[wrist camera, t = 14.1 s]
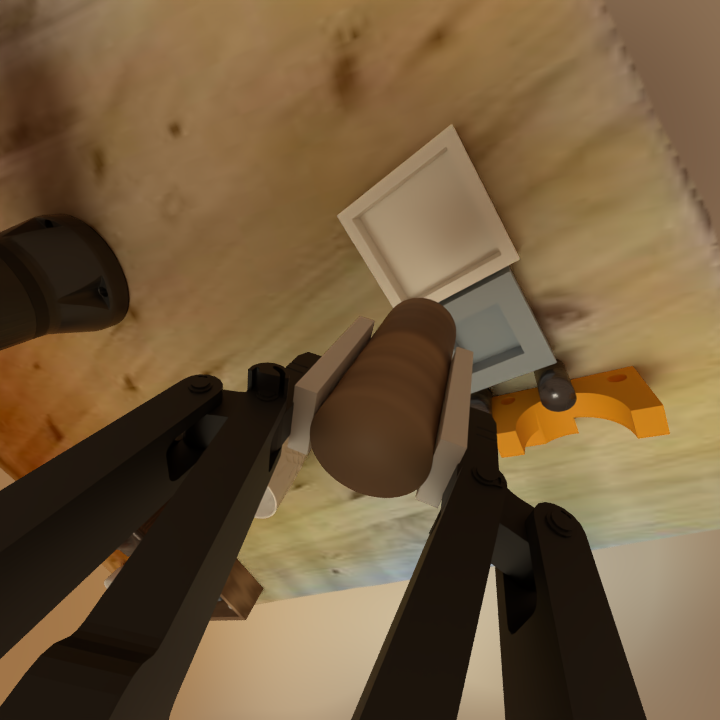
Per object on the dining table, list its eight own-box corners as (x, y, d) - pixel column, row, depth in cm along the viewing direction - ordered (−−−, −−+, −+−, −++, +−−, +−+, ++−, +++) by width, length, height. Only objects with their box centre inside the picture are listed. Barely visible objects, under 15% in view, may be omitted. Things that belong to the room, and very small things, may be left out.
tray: (347, 213, 32) (336, 215, 30) (454, 128, 27) (451, 123, 24) (407, 312, 34) (401, 321, 32) (517, 253, 29) (519, 259, 27)
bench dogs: (461, 389, 36) (457, 416, 32) (558, 353, 31) (568, 380, 27) (472, 409, 37) (470, 438, 32) (569, 376, 32) (581, 405, 28)
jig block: (418, 312, 34) (413, 321, 32) (508, 264, 29) (509, 271, 27) (461, 385, 36) (459, 397, 34) (552, 350, 31) (556, 362, 29)
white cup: (325, 454, 47) (289, 513, 39) (286, 466, 51) (245, 522, 43) (292, 409, 45) (247, 460, 37) (254, 425, 49) (206, 475, 41)
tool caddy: (160, 550, 79) (137, 575, 74) (217, 537, 67) (195, 566, 62) (201, 593, 82) (182, 621, 77) (263, 588, 70) (245, 620, 65)
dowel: (394, 288, 19) (318, 377, 10) (467, 310, 18) (450, 425, 9) (377, 351, 21) (303, 469, 12) (442, 373, 20) (411, 514, 11)
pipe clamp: (505, 430, 37) (507, 472, 31) (492, 396, 36) (492, 434, 30) (642, 405, 31) (674, 452, 26) (632, 365, 30) (663, 405, 25)
